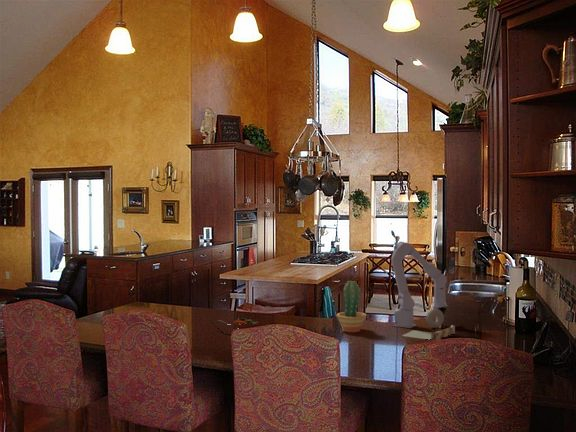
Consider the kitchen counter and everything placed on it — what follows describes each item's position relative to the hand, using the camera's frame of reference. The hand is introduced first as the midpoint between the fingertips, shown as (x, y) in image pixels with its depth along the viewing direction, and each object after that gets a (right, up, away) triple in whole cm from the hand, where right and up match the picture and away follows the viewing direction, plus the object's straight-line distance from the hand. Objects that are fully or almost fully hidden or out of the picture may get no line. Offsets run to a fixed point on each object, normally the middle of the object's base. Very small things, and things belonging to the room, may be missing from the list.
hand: (440, 321), depth 281 cm
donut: (-4, -2, -6) cm, 8 cm away
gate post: (0, -2, -21) cm, 21 cm away
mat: (-15, -2, -21) cm, 26 cm away
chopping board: (-105, -4, +7) cm, 106 cm away
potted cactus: (-48, -3, -8) cm, 48 cm away
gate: (-7, -2, -29) cm, 30 cm away
